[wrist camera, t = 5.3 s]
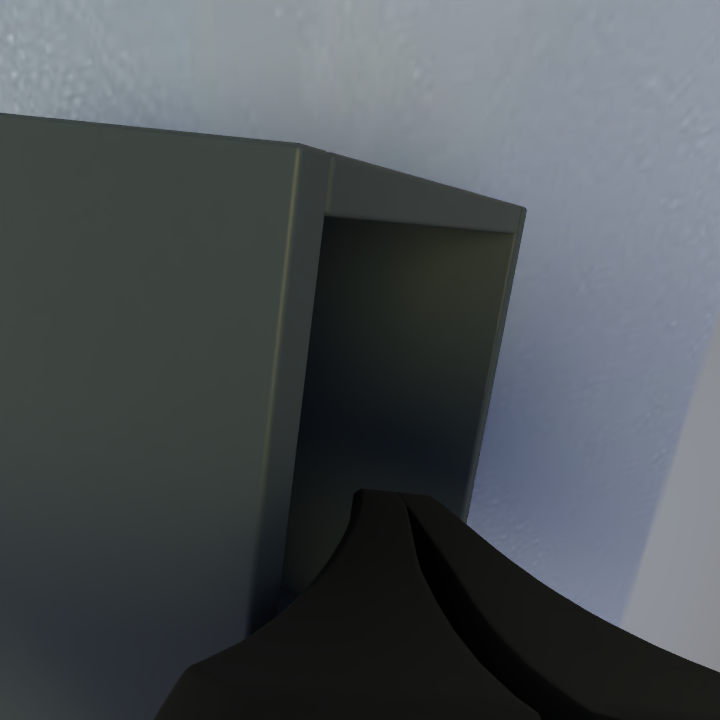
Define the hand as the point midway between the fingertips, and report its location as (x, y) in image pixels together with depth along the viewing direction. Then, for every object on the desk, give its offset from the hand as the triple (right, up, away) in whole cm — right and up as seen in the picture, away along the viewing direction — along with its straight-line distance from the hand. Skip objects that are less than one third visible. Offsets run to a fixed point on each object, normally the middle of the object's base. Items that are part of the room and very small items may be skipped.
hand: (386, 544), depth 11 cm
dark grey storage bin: (-1, +2, +6) cm, 7 cm away
